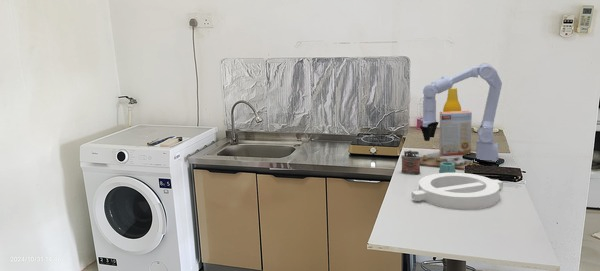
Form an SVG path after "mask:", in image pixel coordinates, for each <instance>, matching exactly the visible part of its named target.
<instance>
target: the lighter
mask: <svg viewBox="0 0 600 271" xmlns="http://www.w3.org/2000/svg"><path fill="white" fill-rule="evenodd" d="M403 153H404V154H402V155H401V172H400V173H401V174H404V175H406V174H407V175H421V166H420V157H421V156H420V155H419V154H420V152H419V151H417V150H413V151H412V149H410V150H404V152H403Z"/></svg>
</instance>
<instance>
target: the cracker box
mask: <svg viewBox="0 0 600 271" xmlns="http://www.w3.org/2000/svg"><path fill="white" fill-rule="evenodd" d="M472 115H473V114H472V111H470V110H461V111H448V112H443V111H440V112H439V154H440V155H441V156H458V155H459V156H465V155H466V154H468V153H471V154H472V152H471V151H472V118H473V117H472ZM466 156H467V155H466Z"/></svg>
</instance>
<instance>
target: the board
mask: <svg viewBox="0 0 600 271" xmlns="http://www.w3.org/2000/svg"><path fill="white" fill-rule="evenodd" d="M441 162H452V163H455V171H456V170H458V171H465V170H464V169H465V166H467V165H470V166H471V164H472V161H471V160H466V159H465V158H460V157H449V158H443V157H442V158H441V157H440V156H436V157H429V156H427V155H426V154H424V155H423V156H420V167H429V168H437V169H438V168H439V169H440V163H441Z"/></svg>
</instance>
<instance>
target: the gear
mask: <svg viewBox="0 0 600 271" xmlns="http://www.w3.org/2000/svg"><path fill="white" fill-rule="evenodd" d="M438 173H456V169H455V163H452V162H441V163H440V168H439V170H438Z"/></svg>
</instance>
